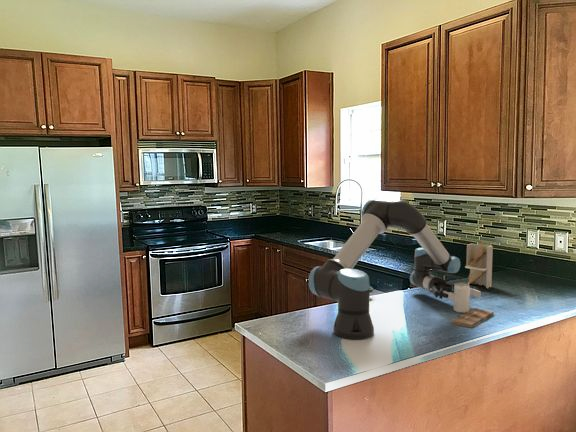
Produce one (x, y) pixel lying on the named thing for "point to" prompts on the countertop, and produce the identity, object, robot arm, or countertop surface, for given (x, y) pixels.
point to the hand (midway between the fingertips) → (467, 296)
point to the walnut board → (472, 317)
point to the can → (462, 297)
